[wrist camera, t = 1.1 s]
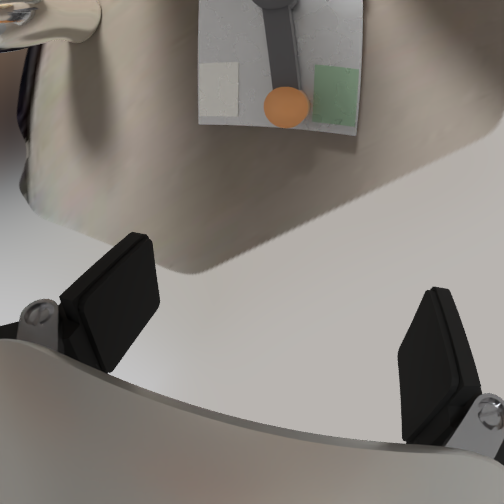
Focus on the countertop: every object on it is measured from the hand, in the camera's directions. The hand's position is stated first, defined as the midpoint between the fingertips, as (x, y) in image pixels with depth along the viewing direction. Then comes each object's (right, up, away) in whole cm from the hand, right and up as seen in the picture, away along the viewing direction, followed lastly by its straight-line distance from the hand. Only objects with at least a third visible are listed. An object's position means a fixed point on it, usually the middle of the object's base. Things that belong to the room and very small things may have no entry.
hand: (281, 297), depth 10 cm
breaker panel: (+2, +20, +13) cm, 24 cm away
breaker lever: (+2, +18, +11) cm, 21 cm away
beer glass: (-21, +28, +15) cm, 38 cm away
